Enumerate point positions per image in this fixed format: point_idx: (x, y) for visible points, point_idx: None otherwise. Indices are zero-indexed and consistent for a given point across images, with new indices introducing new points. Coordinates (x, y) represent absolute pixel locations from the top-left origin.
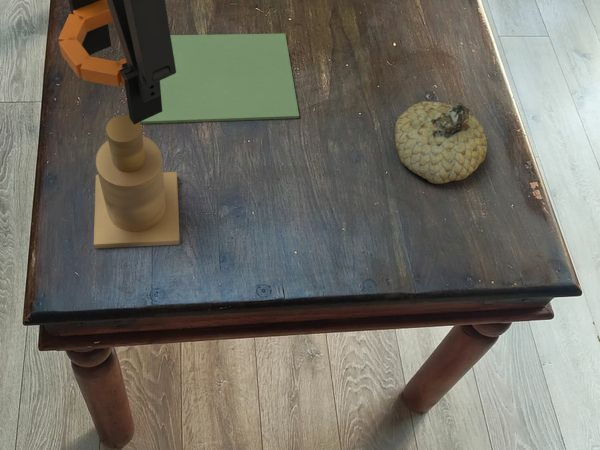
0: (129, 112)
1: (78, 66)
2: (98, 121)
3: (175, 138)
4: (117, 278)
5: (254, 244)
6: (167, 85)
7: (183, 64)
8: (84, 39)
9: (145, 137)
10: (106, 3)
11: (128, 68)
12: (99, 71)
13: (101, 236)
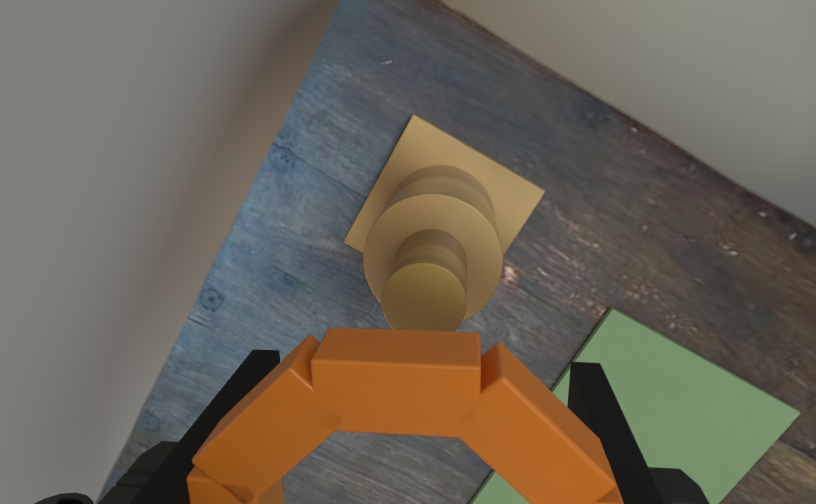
0: (263, 366)
1: (311, 365)
2: (659, 255)
3: (539, 346)
4: (343, 118)
5: (287, 333)
6: (648, 399)
7: (672, 447)
8: (583, 416)
9: (463, 319)
10: None
11: None
12: (237, 419)
13: (419, 134)
